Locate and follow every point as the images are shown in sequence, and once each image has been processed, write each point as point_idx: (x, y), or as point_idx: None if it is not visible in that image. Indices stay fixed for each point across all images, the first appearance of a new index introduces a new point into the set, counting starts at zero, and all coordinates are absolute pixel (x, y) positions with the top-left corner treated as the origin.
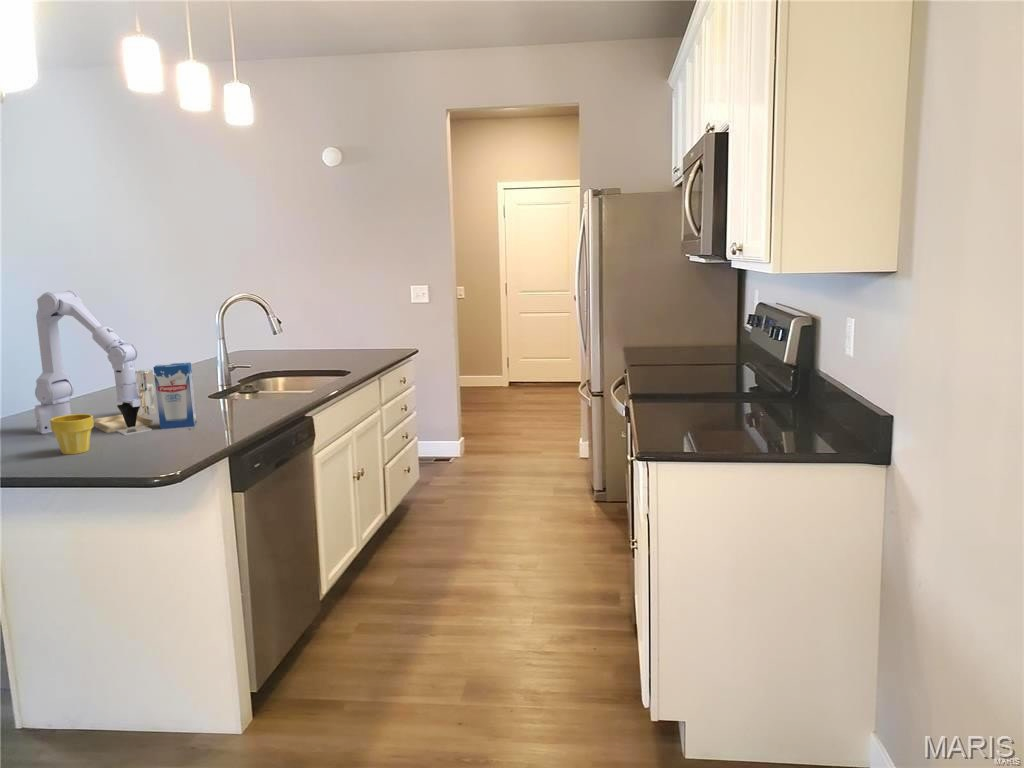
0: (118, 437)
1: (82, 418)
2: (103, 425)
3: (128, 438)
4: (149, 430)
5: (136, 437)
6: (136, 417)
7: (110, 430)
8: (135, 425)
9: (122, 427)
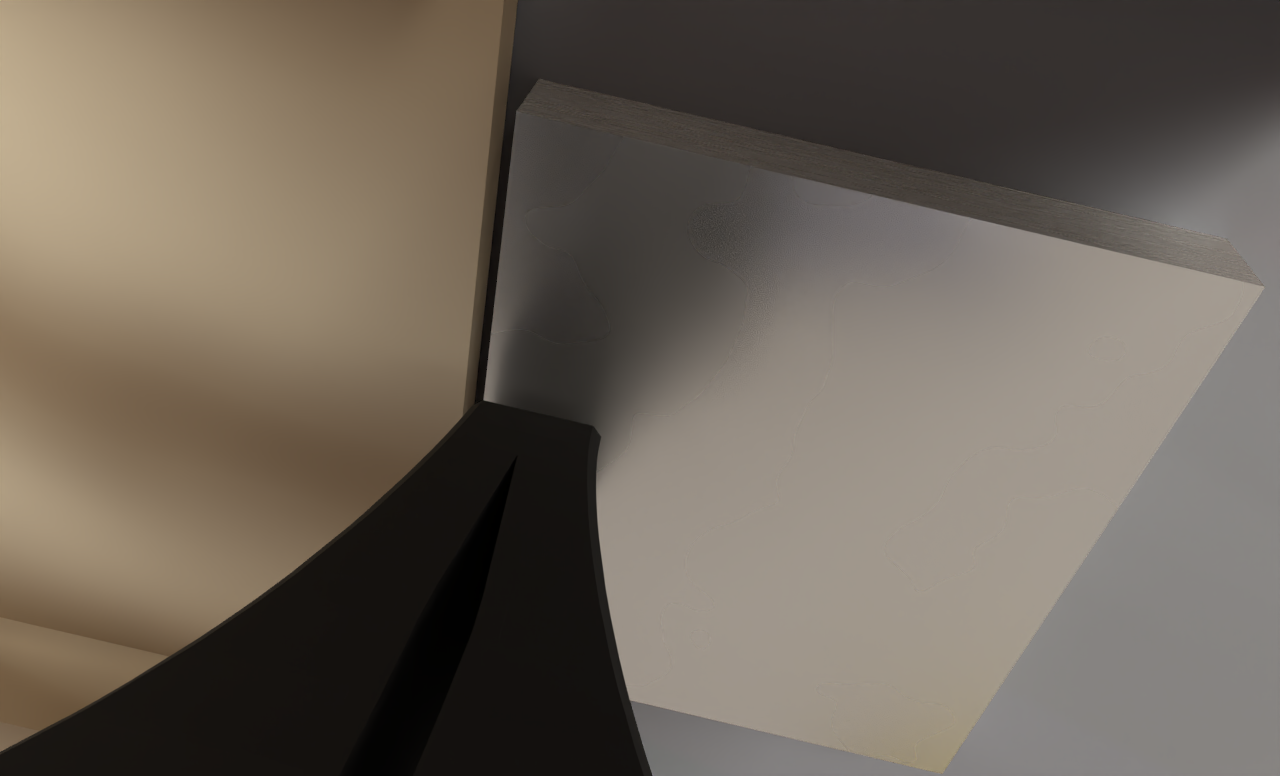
0: (848, 756)
1: None
2: None
3: (1134, 751)
4: (1212, 336)
5: (1252, 674)
6: (607, 610)
7: None
8: (595, 438)
9: (151, 418)
